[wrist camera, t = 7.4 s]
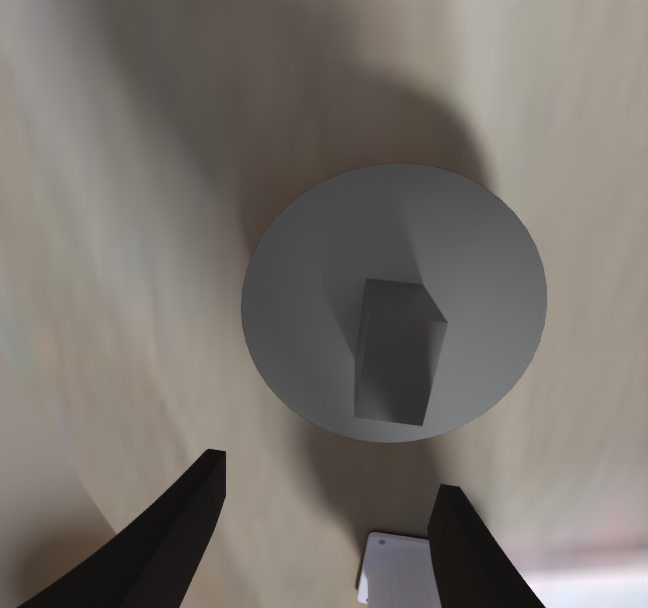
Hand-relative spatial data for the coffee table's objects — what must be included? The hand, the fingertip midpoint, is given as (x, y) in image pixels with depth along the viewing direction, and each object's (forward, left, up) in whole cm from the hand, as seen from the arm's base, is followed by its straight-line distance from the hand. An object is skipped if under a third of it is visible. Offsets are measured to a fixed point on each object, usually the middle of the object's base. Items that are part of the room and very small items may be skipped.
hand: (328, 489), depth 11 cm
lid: (-2, -4, -6) cm, 8 cm away
